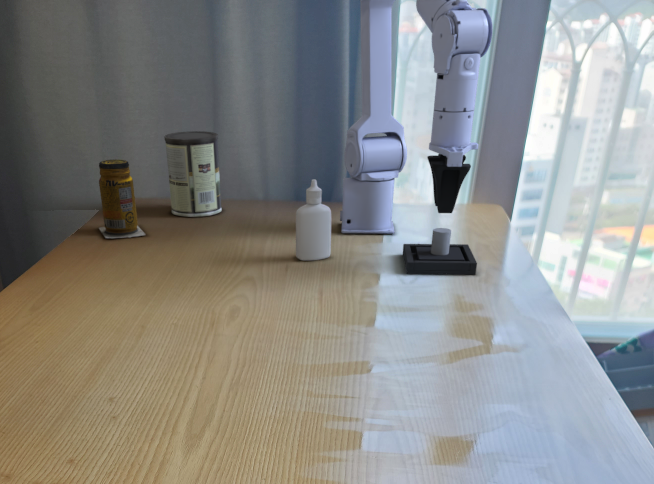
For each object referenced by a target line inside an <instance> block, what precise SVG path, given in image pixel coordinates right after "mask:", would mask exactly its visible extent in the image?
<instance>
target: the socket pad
mask: <svg viewBox="0 0 654 484" xmlns="http://www.w3.org/2000/svg"><path fill="white" fill-rule="evenodd" d="M431 245H432V243H403V245H402V258H403V263H404V269H405V274H406V275H459V276H460V275H462V276H463V275H465V276H466V275H467V276H470V275H471V276H476V273H477V267H478V262H477V260H476V258H475V256H474V253H473V252H472V250H471V248H470V246H469V244H465V243H462V244H461V243H457V244H455V243H452V244H451V243H450V246H449V247H459V248H460V250H461V252H462V255H463V257H464V259H465V261H417V259H416V255H415V251H416V247H431Z"/></svg>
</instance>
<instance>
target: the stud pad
mask: <svg viewBox="0 0 654 484" xmlns="http://www.w3.org/2000/svg"><path fill="white" fill-rule="evenodd" d="M431 235H432V236H431V244H432V245H431V247H416V251H415V255H416V259H417V261H465V259H464V257H463V255H462V252H461V250H460V248H459V247H449V246H450V244H451V237H452V229H450V228H446V227H436V228H433V229H432V234H431Z"/></svg>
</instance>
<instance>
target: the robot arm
mask: <svg viewBox="0 0 654 484" xmlns="http://www.w3.org/2000/svg"><path fill="white" fill-rule="evenodd" d="M359 1H360V4H359V5H360V7H359V8H360V69H361V73H360V75H361V116H360V117H359V118H358V119H357V120H356V121H355V122H354V123H353V124H352V125H351V126H350V127H349V128H348V130H347V131H346V140H345V148H344V158H343V161H344V166H345V169H346V171H347V173H348V174H349V176H350V177H343V179H342V202H341V203H342V204H341V205H342V209H341V210H340V211H339V221H340V222H341V233H342V234H388V235H390V234H394V233H395V227H394V221H393V206H394V194H395V193H394V191H395V179H397V178H399V173H401V172H402V171H403V170H404V168H405V166H406V164H407V159H408V148H407V143H406V139H405V138H406V137H405V127H404V125H403V124H402V123H400V122H399V121H398V120H397V119H396V118H395V117H394V116H393V114H392V13H393V12H392V11H393V10H392V8H393V5H394V3H395V1H396V0H359ZM415 2H416V3H415V7H416V11H417V13H418V15H419V16H420V17H421V19H422V20H423V22H424V23H425V25H426V26H427V28H428V29H429V31H430V33H431V48H432V49H431V50H432V53H433V69H434V70H433V71H434V73H435V74H436V81H435V91H434V101H433V102H434V103H433V114H432V124H431V134H430V142H429V143H428V150H429V151H431V152H433V153H436V154H437V155H428V156H426V158H427V160H428V164H429V168H430V170H431V177H432V187H433V201H434V206H435V207H436V208H437V213H438V214H453V212H454V209H455V206H456V204H457V200H458V197H459V193H460V190H461V188H462V185H463V182H464V180H465V178H466V177H467V175H468V173H469V172H470V171H471V167H472V165H471V163H465V161H466V160H467V156H466V154H467V153H469V152H470V151H472V150H479V145H480V143H478V142H474V141H473V142H471V140H472V134H473V133H472V132H473V124H474V115H475V107H476V99H477V90H478V82H479V74H480V73H479V72H480V66H481V58H482V57H484V56H485V55H486V54H487V52H488V51H489V49H490V46H491V43H492V39H493V34H494V33H493V31H494V27H493V20H492V16H491V15H490V13H489V10H488V9H487V8H486V7H485V8H484V7H479V8H477V7H472V6H471V5H470V3H469V2H468V0H415ZM370 134H371V135H372V134H385V135H379V136H378V135H377V136H366V135H370Z"/></svg>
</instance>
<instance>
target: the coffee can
mask: <svg viewBox="0 0 654 484" xmlns="http://www.w3.org/2000/svg"><path fill="white" fill-rule="evenodd" d="M163 137H164V138H163V139H164V141H165V150H166V151H165V152H166V162H167V173H168V183H169V194H170V204H171V214H172V215H175V216H177V217H183V218H203V217H210V216H214V215H217V214H219V213H222V210H223V208H222V195H221V181H220V180H221V179H220V178H221V177H220V162H219V161H220V159H219V143H218V142H219V141H218V139H219V134H218V133H217V132H212V131H204V130H203V131H199V130H194V131H193V130H192V131H191V130H190V131H177V132H171V133H168V134H167V133H166V134H165V135H164V136H163Z"/></svg>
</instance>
